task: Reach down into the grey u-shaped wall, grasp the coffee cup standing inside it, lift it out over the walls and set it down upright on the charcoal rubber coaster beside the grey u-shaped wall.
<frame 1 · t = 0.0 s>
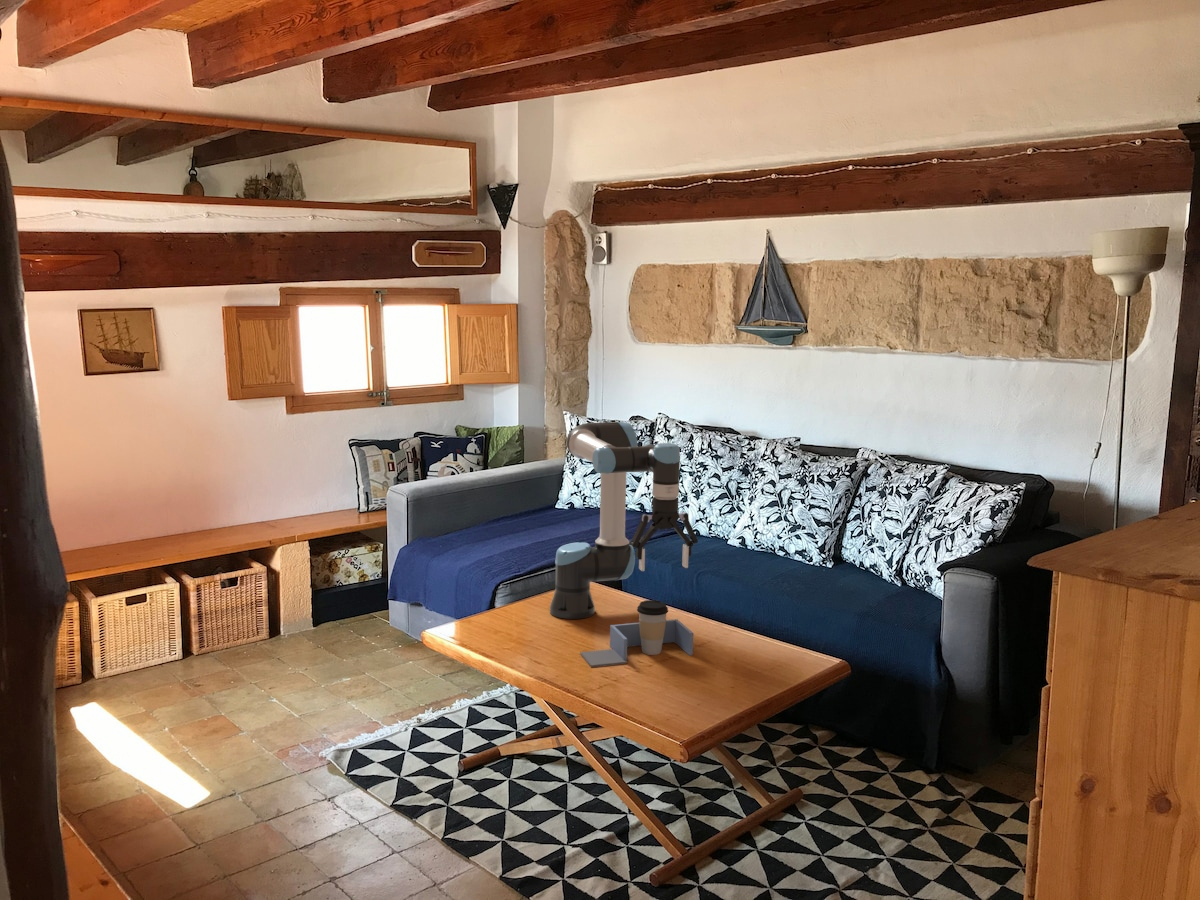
hand: (663, 568, 290), 28 cm above the table, fingers open, 13 cm apart
coaster: (603, 658, 295), on the table
grey u-shaped wall: (651, 651, 301), on the table
coffee cup: (651, 652, 301), on the table
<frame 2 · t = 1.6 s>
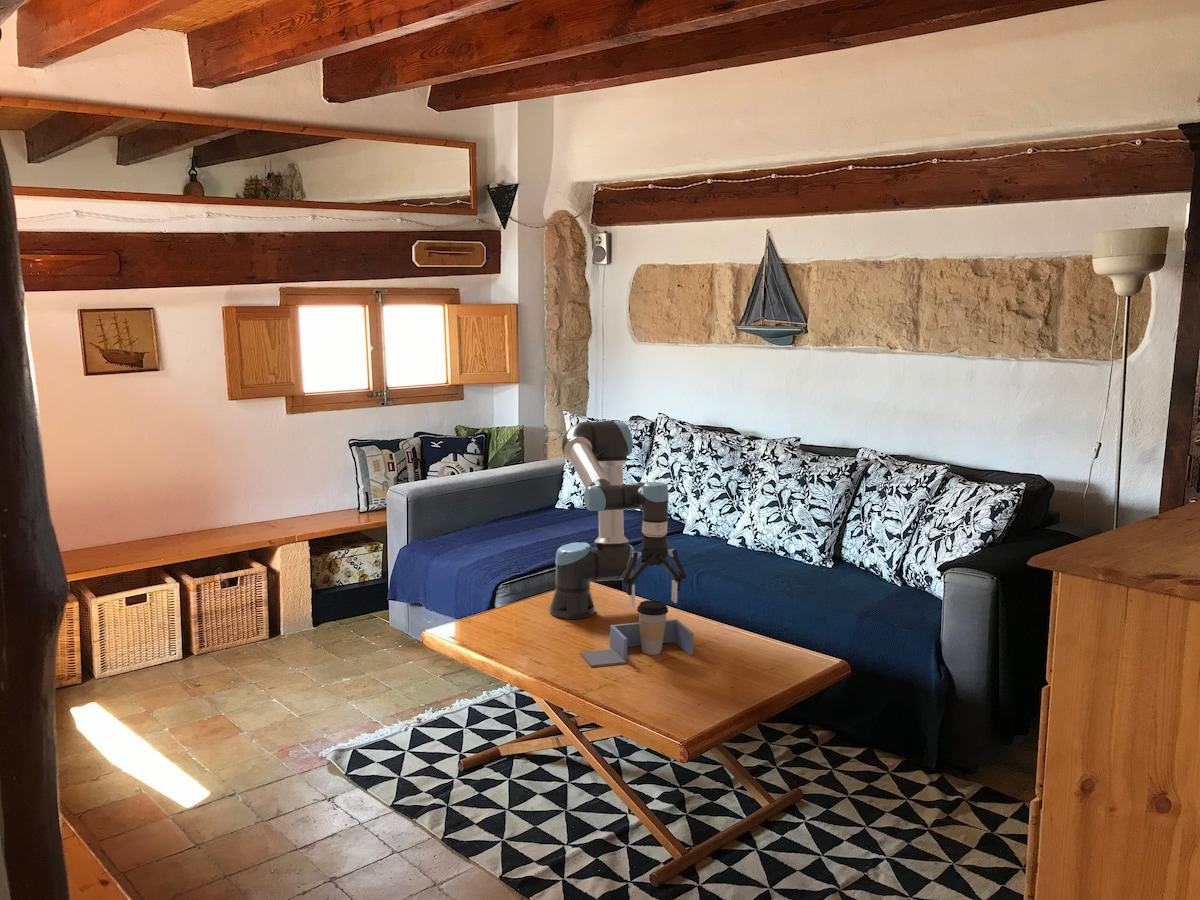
hand: (653, 603, 299), 15 cm above the table, fingers open, 13 cm apart
nothing on the table moved.
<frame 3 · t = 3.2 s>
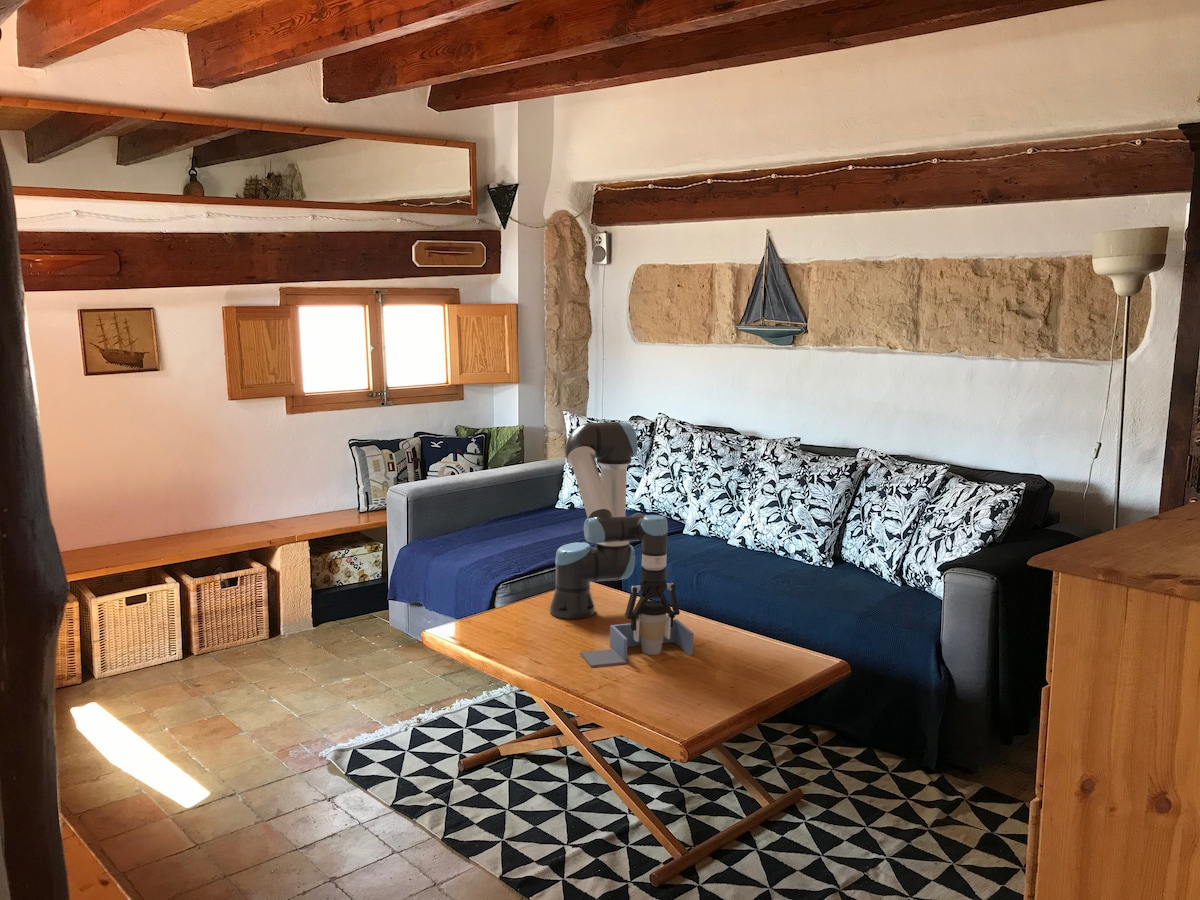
hand: (651, 638, 301), 4 cm above the table, fingers closed on coffee cup, 9 cm apart
coffee cup: (651, 652, 301), on the table, touching gripper
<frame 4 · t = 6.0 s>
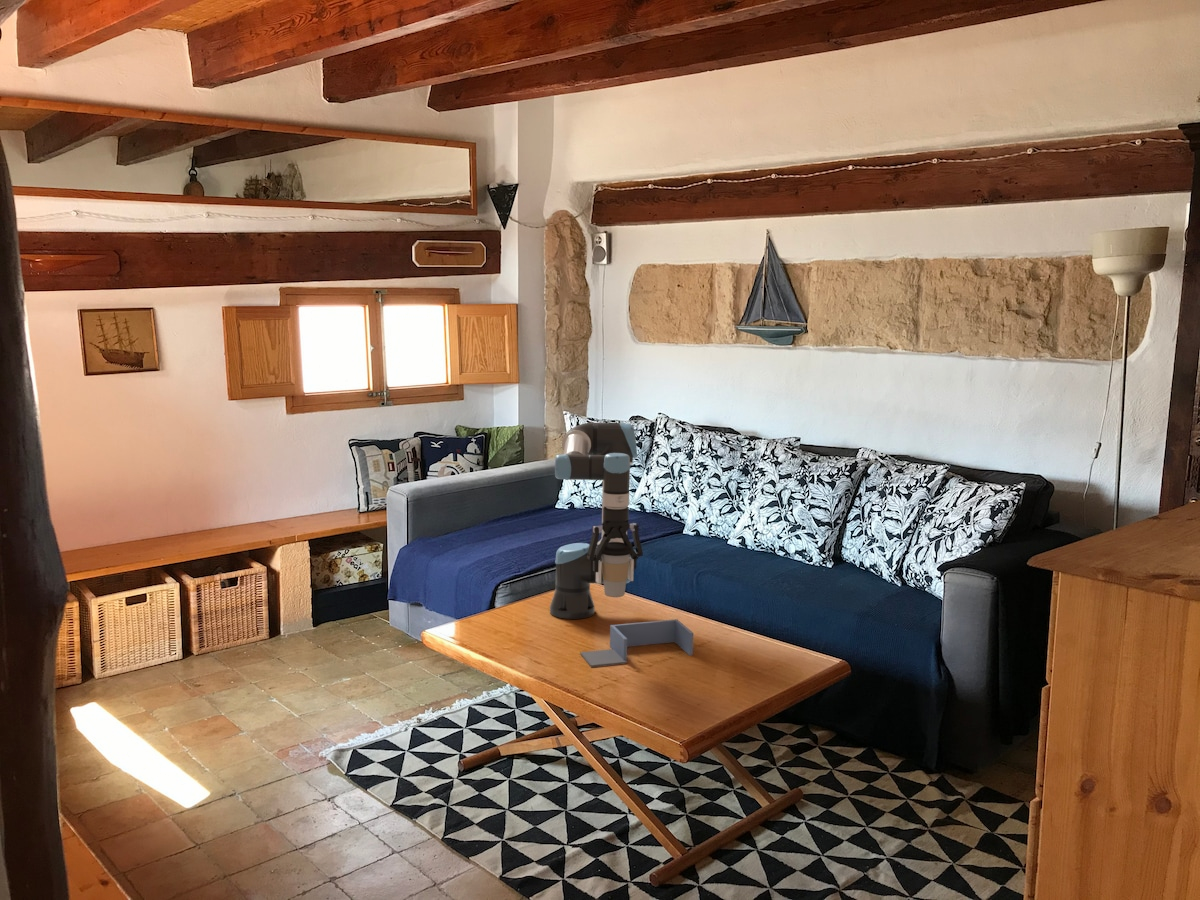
hand: (614, 581, 292), 24 cm above the table, fingers closed on coffee cup, 9 cm apart
coffee cup: (614, 595, 293), point 19 cm above the table, touching gripper
when the fingers open (7 cm above the table, at t = 8.7 s): coffee cup drops 3 cm, resting on coaster.
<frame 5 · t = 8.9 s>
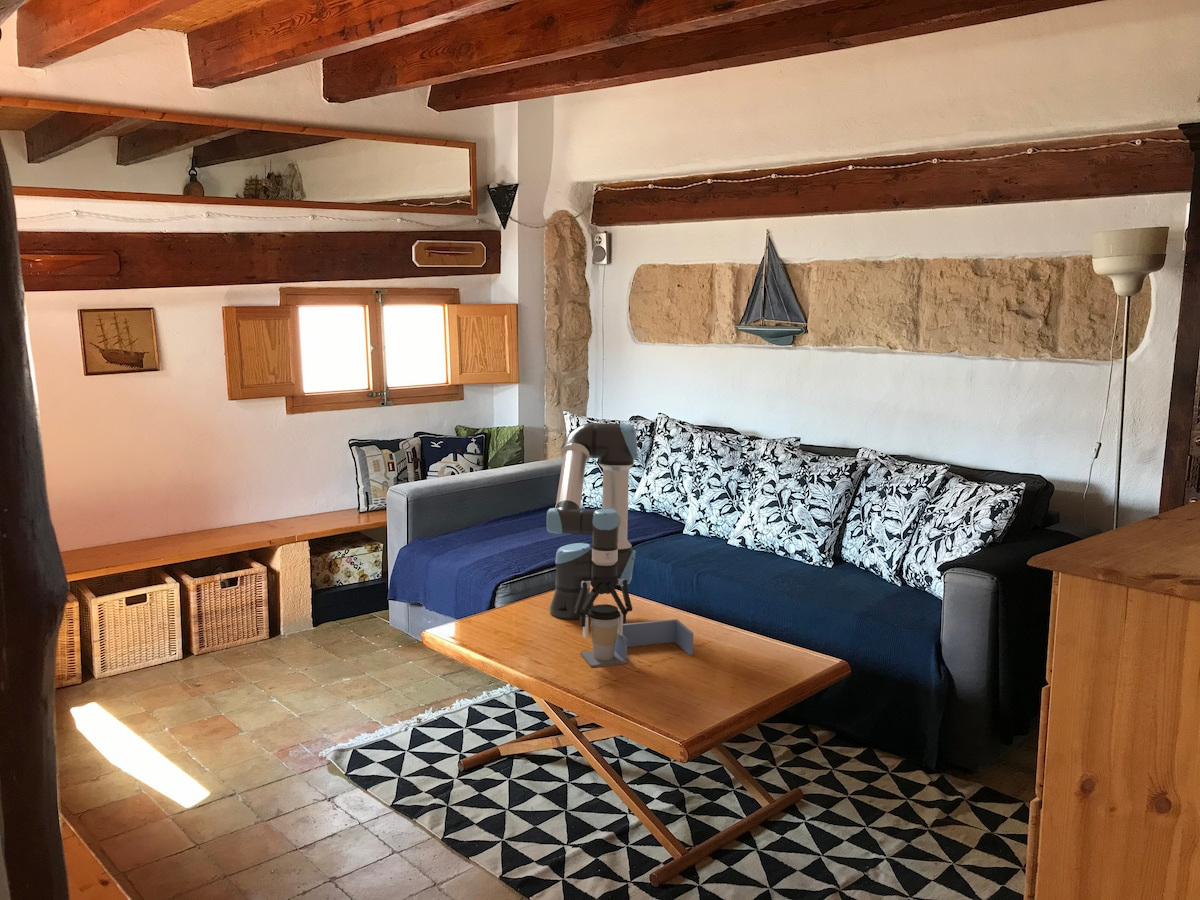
hand: (602, 635, 293), 7 cm above the table, fingers open, 10 cm apart
coffee cup: (603, 657, 294), resting on coaster, touching gripper
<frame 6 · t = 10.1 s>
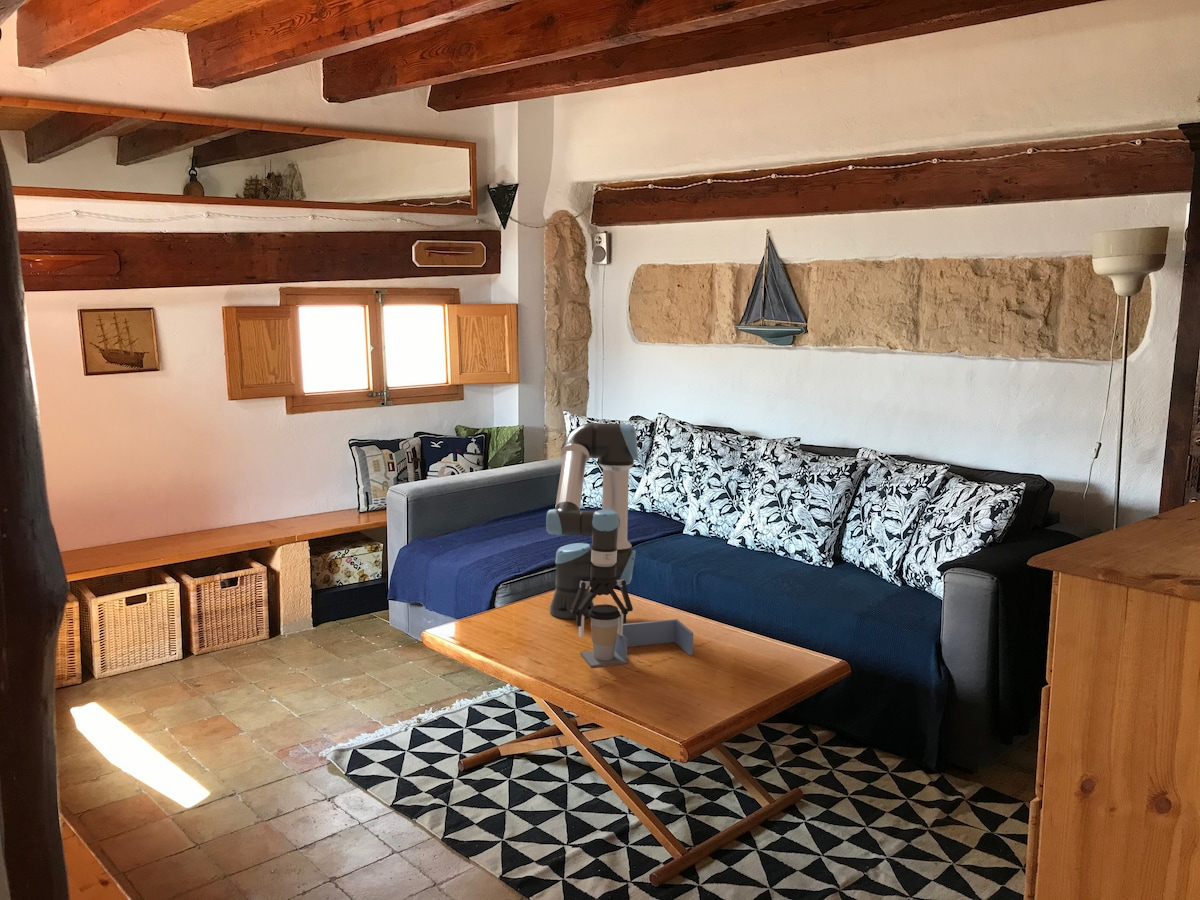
hand: (600, 635, 293), 7 cm above the table, fingers open, 11 cm apart
coffee cup: (603, 657, 294), resting on coaster
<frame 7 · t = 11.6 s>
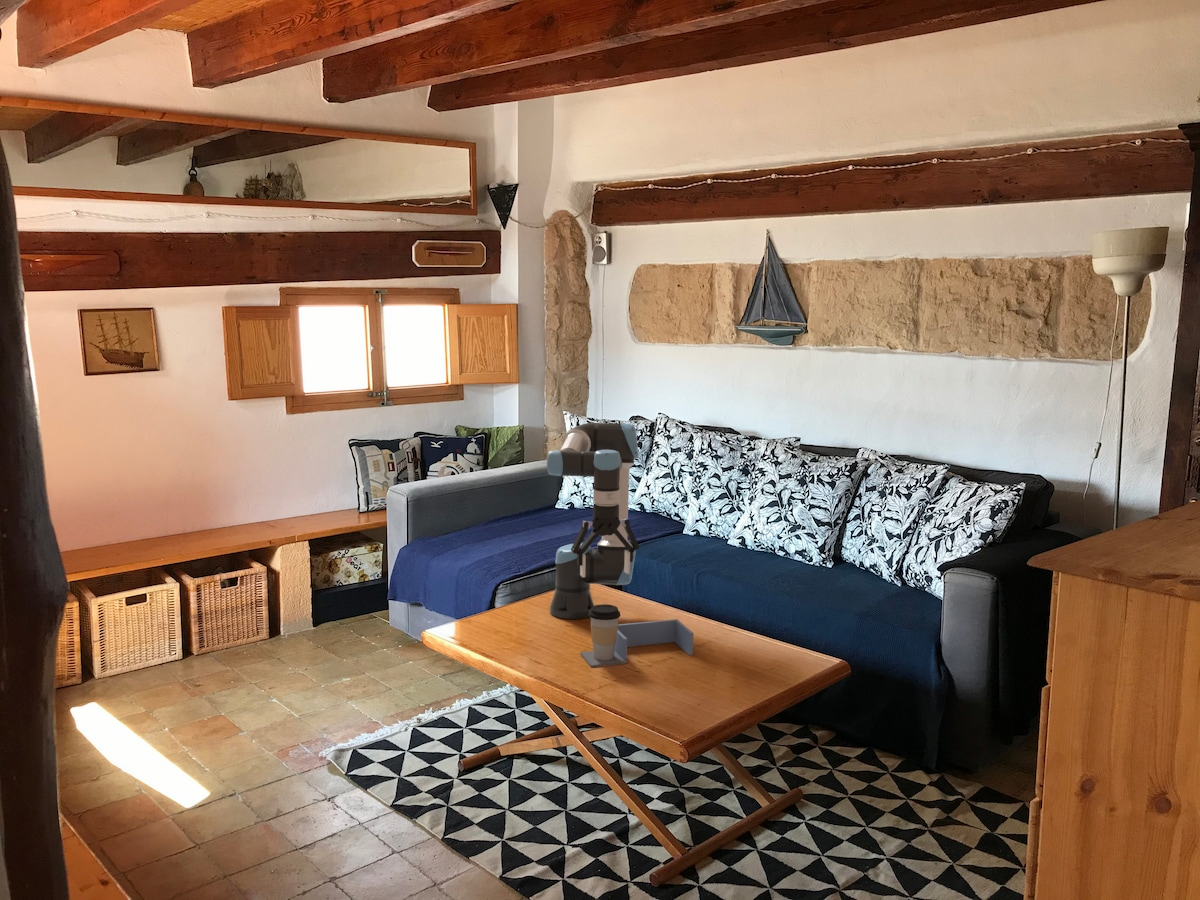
hand: (604, 574, 291), 26 cm above the table, fingers open, 13 cm apart
nothing on the table moved.
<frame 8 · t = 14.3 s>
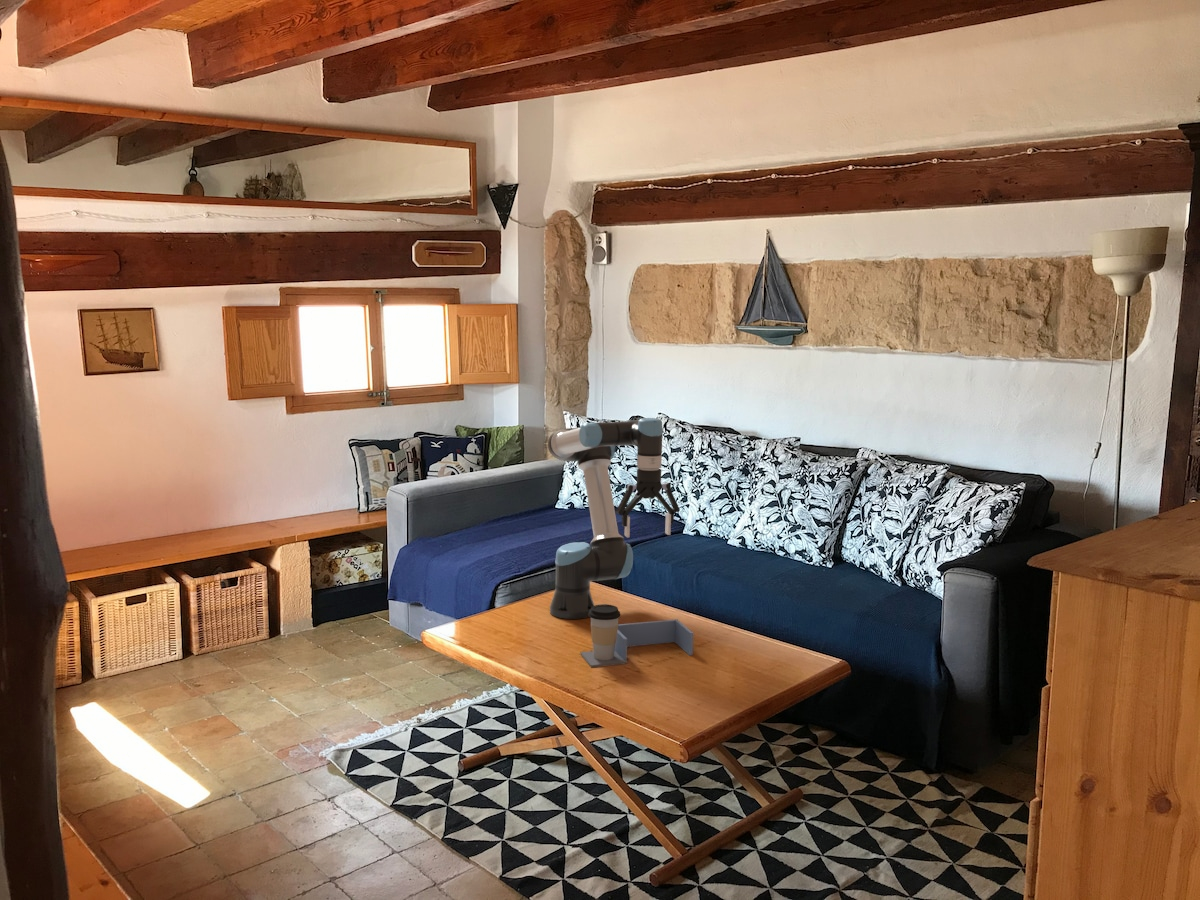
hand: (647, 535, 310), 33 cm above the table, fingers open, 13 cm apart
nothing on the table moved.
at the end: coffee cup inside the target area on the coaster (0.1 cm from its centre), point 0.4 cm above the coaster's base; coffee cup tilted 0°; the gripper is holding nothing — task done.
